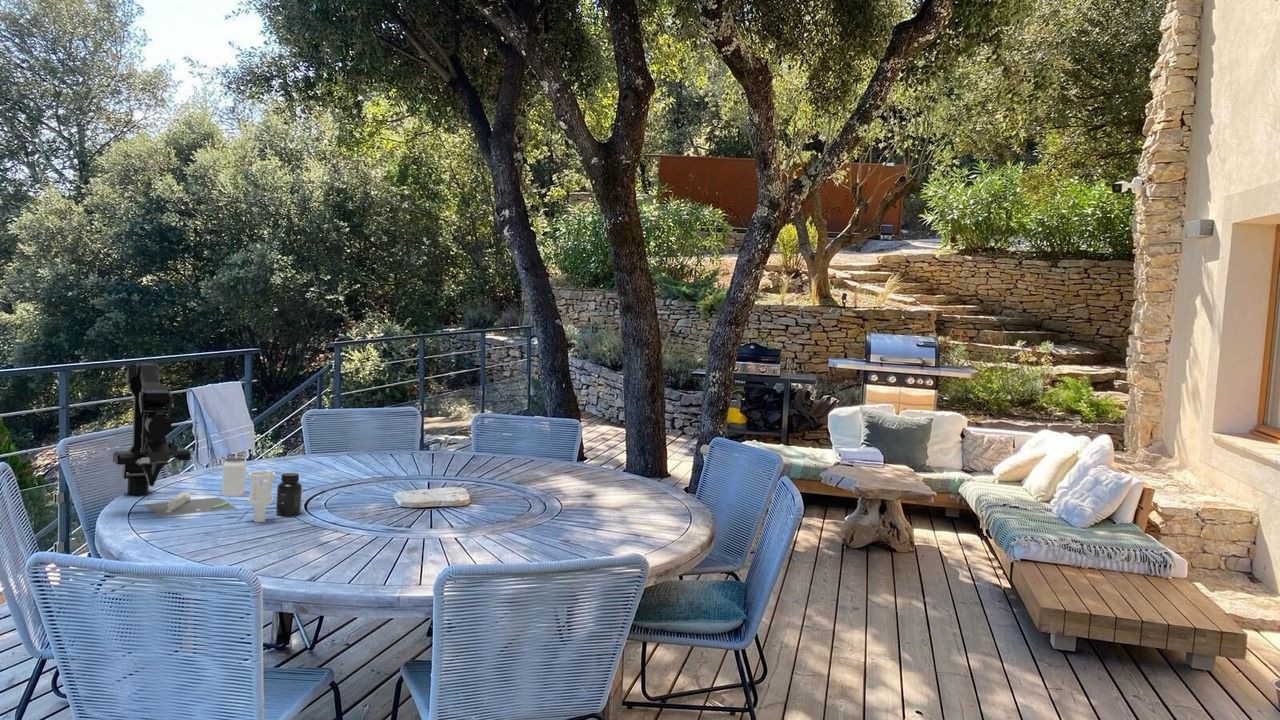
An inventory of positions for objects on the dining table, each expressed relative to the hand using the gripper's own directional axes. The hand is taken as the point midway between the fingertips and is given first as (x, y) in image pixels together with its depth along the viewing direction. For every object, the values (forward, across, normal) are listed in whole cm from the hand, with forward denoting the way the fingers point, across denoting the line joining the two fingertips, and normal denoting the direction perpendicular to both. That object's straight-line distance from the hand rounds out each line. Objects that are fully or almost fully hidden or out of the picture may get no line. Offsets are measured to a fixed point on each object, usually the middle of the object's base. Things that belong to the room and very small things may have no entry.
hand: (151, 485), depth 244 cm
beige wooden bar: (+7, +8, +3) cm, 11 cm away
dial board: (+8, +11, +1) cm, 14 cm away
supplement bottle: (+9, +33, -16) cm, 38 cm away
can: (+9, +27, +12) cm, 31 cm away
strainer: (+8, +23, -20) cm, 32 cm away
